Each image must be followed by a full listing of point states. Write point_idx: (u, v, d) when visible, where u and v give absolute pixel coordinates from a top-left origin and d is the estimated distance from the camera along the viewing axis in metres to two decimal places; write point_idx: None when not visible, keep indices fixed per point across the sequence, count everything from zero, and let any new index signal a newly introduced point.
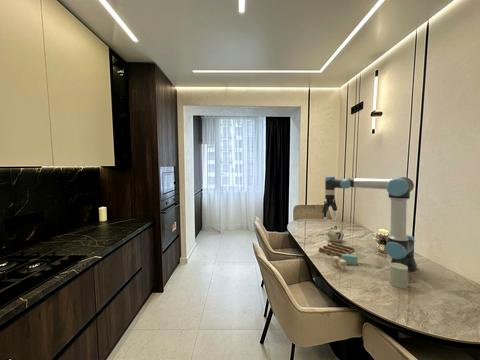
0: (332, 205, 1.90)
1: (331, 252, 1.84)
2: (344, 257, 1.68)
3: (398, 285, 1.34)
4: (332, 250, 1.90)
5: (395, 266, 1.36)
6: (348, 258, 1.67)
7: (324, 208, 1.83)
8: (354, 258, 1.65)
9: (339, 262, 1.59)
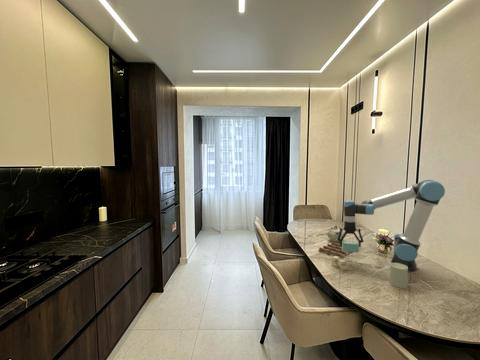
0: (354, 234, 1.66)
1: (331, 252, 1.84)
2: (345, 245, 1.67)
3: (398, 285, 1.34)
4: (332, 250, 1.90)
5: (395, 266, 1.36)
6: (349, 246, 1.66)
7: None
8: (355, 246, 1.64)
9: (339, 262, 1.59)
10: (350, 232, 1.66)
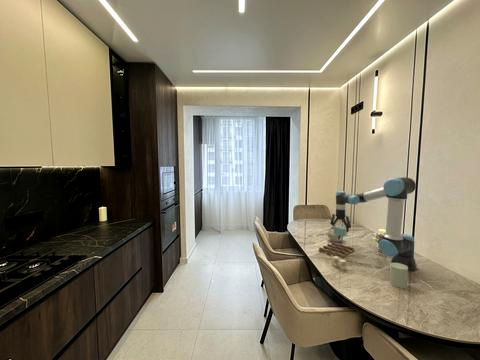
0: (343, 220, 1.92)
1: (331, 252, 1.84)
2: (335, 228, 1.96)
3: (398, 285, 1.34)
4: (332, 250, 1.90)
5: (395, 266, 1.36)
6: (338, 229, 1.94)
7: None
8: (342, 230, 1.91)
9: (339, 262, 1.59)
10: (340, 218, 1.94)
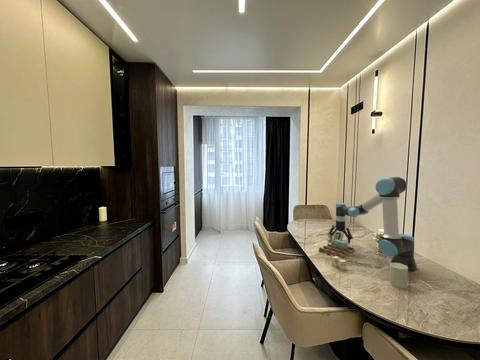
0: None
1: (331, 252, 1.84)
2: (335, 242, 1.97)
3: (398, 285, 1.34)
4: (332, 250, 1.90)
5: (395, 266, 1.36)
6: (338, 243, 1.95)
7: None
8: (342, 244, 1.92)
9: (339, 262, 1.59)
10: (340, 230, 1.94)
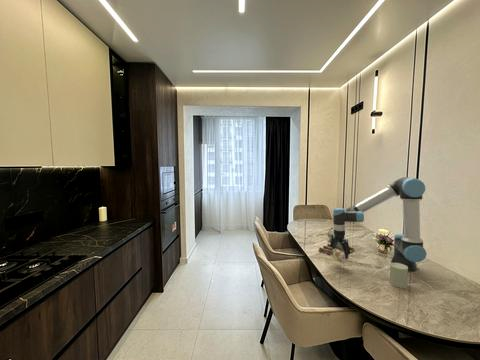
0: None
1: (331, 252, 1.84)
2: None
3: (398, 285, 1.34)
4: None
5: (395, 266, 1.36)
6: (338, 243, 1.95)
7: None
8: None
9: (340, 255, 1.59)
10: (338, 241, 1.61)
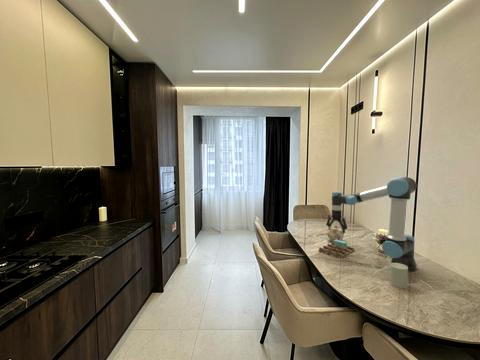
0: (339, 222, 1.88)
1: (331, 252, 1.84)
2: (335, 242, 1.97)
3: (398, 285, 1.34)
4: (332, 250, 1.90)
5: (395, 266, 1.36)
6: (338, 243, 1.95)
7: None
8: (342, 244, 1.92)
9: (338, 231, 1.87)
10: (336, 219, 1.89)
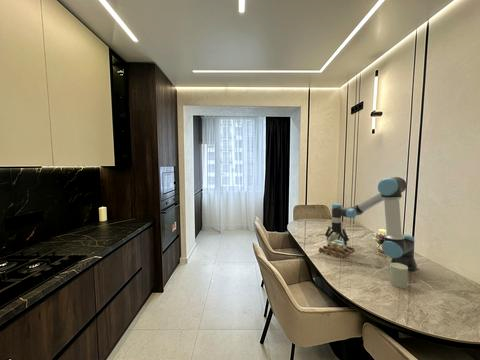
0: None
1: (331, 252, 1.84)
2: None
3: (398, 285, 1.34)
4: (332, 250, 1.90)
5: (395, 266, 1.36)
6: None
7: None
8: None
9: (338, 246, 1.88)
10: (336, 231, 1.90)
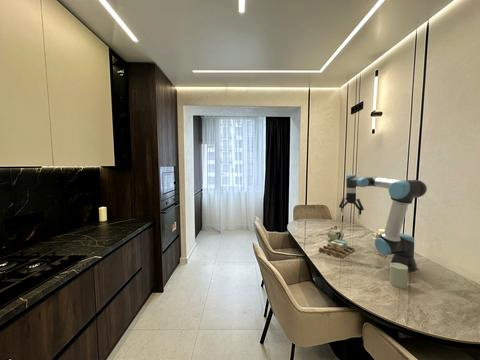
0: None
1: (331, 252, 1.84)
2: None
3: (398, 285, 1.34)
4: (332, 250, 1.90)
5: (395, 266, 1.36)
6: None
7: None
8: None
9: (338, 246, 1.88)
10: (350, 202, 1.92)
